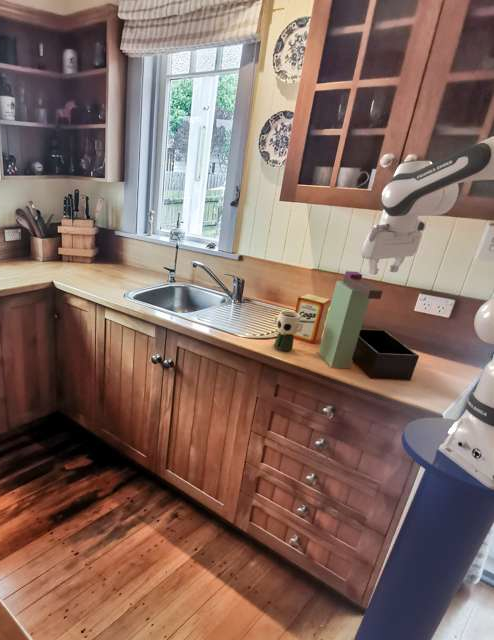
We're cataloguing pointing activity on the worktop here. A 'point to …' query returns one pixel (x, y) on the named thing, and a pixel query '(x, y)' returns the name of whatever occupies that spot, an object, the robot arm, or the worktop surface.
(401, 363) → the trash bin
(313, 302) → the baking soda box
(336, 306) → the green box
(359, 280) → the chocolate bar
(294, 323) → the character mug
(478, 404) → the robot arm
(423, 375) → the worktop surface
